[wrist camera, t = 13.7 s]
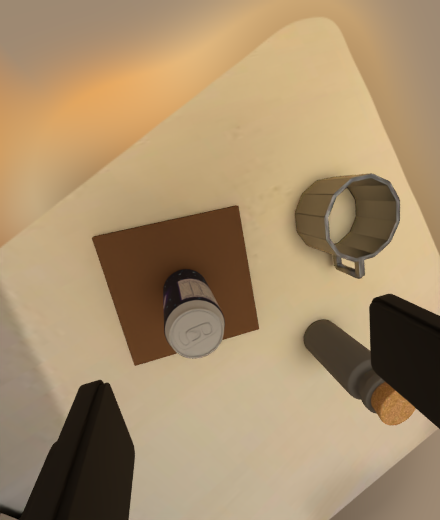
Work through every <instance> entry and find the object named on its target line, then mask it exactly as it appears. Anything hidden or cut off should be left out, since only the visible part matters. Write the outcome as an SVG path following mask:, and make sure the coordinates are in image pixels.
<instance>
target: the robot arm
mask: <svg viewBox="0 0 440 520" xmlns="http://www.w3.org/2000/svg"><path fill="white" fill-rule="evenodd" d="M369 311H370V347H371V366H372V368H373V370H374V372H375V373H376V374H377V375H378V376H379V377H380V378H382V379H383V380H384V381H385V382H386V383H387V384H389V385H390V386H391V387H392V388H393V389H394V390H395V391H397V392H398V393H399V394H400V395H401V396H402V397H404V398H405V399H406V400H407V401H408V402H409V403H410V404H412V405H413V406H414V407H415V408H416V409H417V410H419V411H420V412H421V413H422V414H423V415H424V416H425V417H427V418H428V419H429V420H430V421H431V422H432V423H434V424H435V425H436V426H437V427H438V428H439V429H440V316H439V315H436V314H434V313H432V312H430V311H428V310H426V309H423V308H421V307H419V306H417V305H415V304H412V303H410V302H408V301H406V300H404V299H402V298H399V297H397V296H395V295H393V294H386V295H383V296H379V297H376V298H374V299H373V300H372V303H371V304H370V307H369ZM134 460H135V451H134V445H133V442H132V440H131V437H130V434H129V432H128V429H127V427H126V424H125V422H124V419H123V417H122V414H121V411H120V409H119V406H118V404H117V401H116V399H115V396H114V394H113V391H112V388H111V386H110V384H109V383H103V381H102V380H98V381H94V382H91V383H88V384H84V385H82V386H80V388H79V390H78V392H77V395H76V397H75V400H74V402H73V404H72V407H71V409H70V412H69V414H68V416H67V419H66V421H65V424H64V426H63V428H62V431H61V433H60V436H59V438H58V441H56V442H55V443H54V444H53V445H52V447H51V449H50V451H49V453H48V455H47V458H46V460H45V462H44V465H43V467H42V469H41V472H40V474H39V476H38V479H37V481H36V483H35V486H34V488H33V490H32V493H31V495H30V497H29V500H28V502H27V504H26V507H25V509H24V511H23V514H22V516H21V518H20V520H128V519H129V509H130V499H131V490H132V480H133V470H134Z"/></svg>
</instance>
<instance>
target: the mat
mask: <svg viewBox="0 0 440 520" xmlns="http://www.w3.org/2000/svg"><path fill="white" fill-rule="evenodd" d="M92 240H93V243H94V246H95V248H96V251H97V254H98V257H99V260H100V263H101V266H102V269H103V272H104V275H105V278H106V281H107V284H108V287H109V290H110V293H111V296H112V299H113V302H114V305H115V308H116V311H117V314H118V317H119V320H120V323H121V326H122V329H123V332H124V335H125V338H126V341H127V344H128V347H129V350H130V353H131V356H132V359H133V362H134V365H135V366H136V365H139V364H143V363H146V362H149V361H153V360H156V359H159V358H163V357H166V356H170V355H173V354H176V353H177V352H176V351H174V349H173V348H172V347H171V346H170V344H169V343H168V342H167V340H166V337H165V334H164V307H163V287H164V284H165V282H166V280H167V279H168V277H169V276H170V275H171V274H173V273H174V272H176V271H179V270H183V269H190V270H194V271H197V272H198V273H200V274H201V275H202V276H203V277H204V278H205V280H206V282H207V284H208V286H209V288H210V290H211V292H212V294H213V296H214V298H215V300H216V302H217V303H218V305H219V307H220V309H221V311H222V313H223V316H224V319H225V329H224V335H223V339H222V340H224V339H227V338H230V337H234V336H237V335H240V334H244V333H247V332H251V331H254V330H257V329H259V326H258V320H257V314H256V308H255V302H254V296H253V290H252V284H251V278H250V272H249V266H248V260H247V255H246V249H245V243H244V237H243V231H242V225H241V219H240V213H239V207H238V206H232V207H228V208H223V209H218V210H214V211H209V212H205V213H200V214H195V215H191V216H186V217H181V218H177V219H172V220H168V221H163V222H158V223H154V224H149V225H145V226H140V227H135V228H131V229H126V230H121V231H117V232H112V233H108V234H103V235H98V236H94V237H93V238H92Z"/></svg>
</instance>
